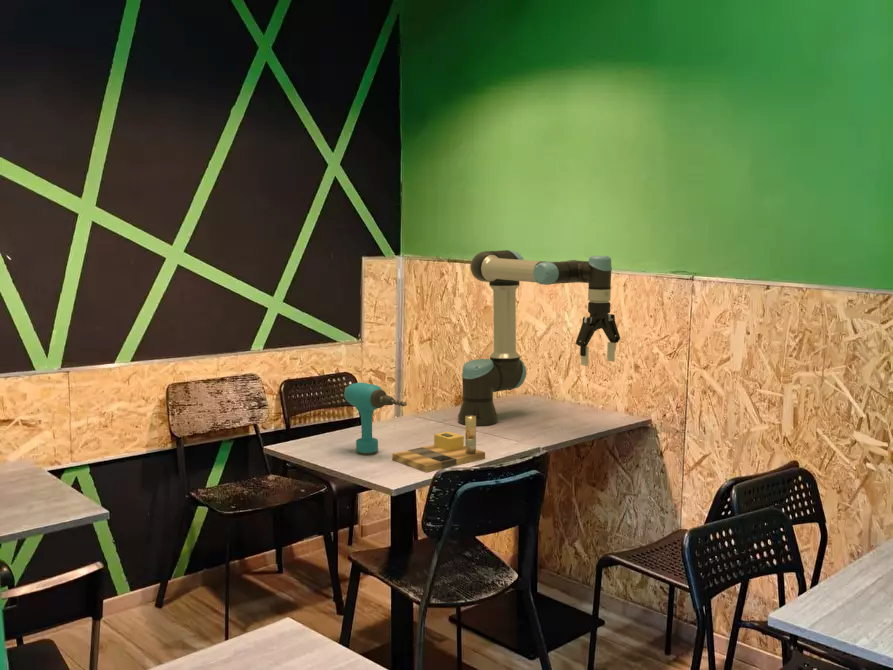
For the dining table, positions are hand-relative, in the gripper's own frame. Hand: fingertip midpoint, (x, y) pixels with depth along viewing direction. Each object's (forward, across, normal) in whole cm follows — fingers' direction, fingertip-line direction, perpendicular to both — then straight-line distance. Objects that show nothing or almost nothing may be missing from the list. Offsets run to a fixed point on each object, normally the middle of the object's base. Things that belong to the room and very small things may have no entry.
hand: (597, 363), depth 291 cm
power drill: (+28, -68, +35) cm, 81 cm away
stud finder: (+26, -48, +22) cm, 59 cm away
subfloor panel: (+28, -55, +18) cm, 64 cm away
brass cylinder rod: (+26, -47, +12) cm, 55 cm away
